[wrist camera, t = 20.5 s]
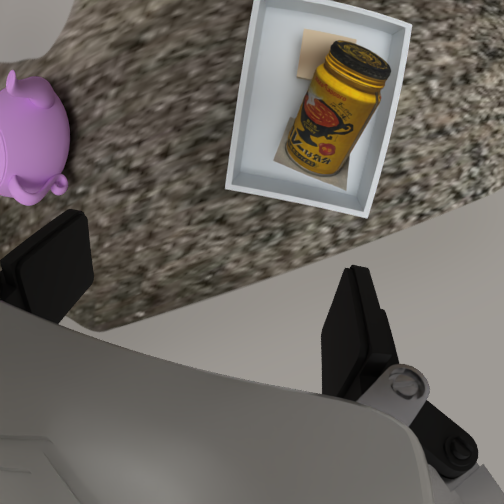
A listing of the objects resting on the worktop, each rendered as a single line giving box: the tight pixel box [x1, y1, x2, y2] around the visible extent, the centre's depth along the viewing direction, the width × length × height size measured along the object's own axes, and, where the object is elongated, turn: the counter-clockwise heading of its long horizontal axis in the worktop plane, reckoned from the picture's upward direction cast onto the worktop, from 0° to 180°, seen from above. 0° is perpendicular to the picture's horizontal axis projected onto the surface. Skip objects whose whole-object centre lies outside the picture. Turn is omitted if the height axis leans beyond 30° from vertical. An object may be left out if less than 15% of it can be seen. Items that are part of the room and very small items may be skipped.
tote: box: [225, 0, 412, 218], centre depth 30 cm, size 21×15×6 cm
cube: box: [296, 29, 357, 81], centre depth 28 cm, size 5×5×5 cm
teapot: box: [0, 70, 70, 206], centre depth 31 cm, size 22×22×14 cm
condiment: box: [273, 40, 391, 191], centre depth 26 cm, size 7×8×12 cm
